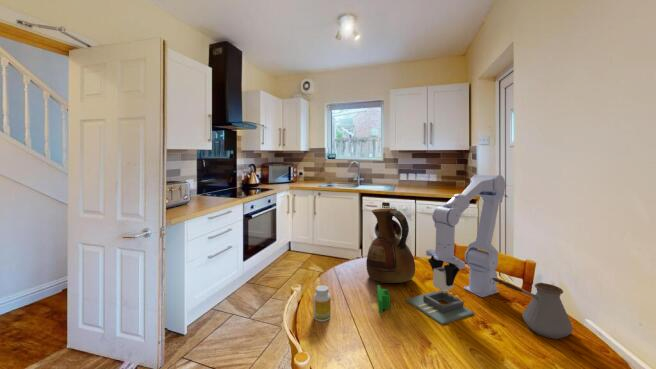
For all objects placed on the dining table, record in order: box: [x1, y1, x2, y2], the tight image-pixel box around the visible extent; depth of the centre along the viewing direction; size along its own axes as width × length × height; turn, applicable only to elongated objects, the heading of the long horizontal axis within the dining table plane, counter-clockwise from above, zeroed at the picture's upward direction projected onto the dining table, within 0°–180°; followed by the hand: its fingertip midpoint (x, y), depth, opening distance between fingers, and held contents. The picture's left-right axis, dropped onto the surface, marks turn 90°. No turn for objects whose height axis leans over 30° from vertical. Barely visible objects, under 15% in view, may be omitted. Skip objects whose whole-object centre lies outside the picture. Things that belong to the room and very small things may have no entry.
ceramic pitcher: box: [365, 207, 416, 284], centre depth 114 cm, size 20×20×30 cm
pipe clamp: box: [376, 284, 391, 314], centre depth 95 cm, size 11×4×5 cm, turn 173°
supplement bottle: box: [313, 284, 332, 322], centre depth 87 cm, size 5×5×10 cm
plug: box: [432, 266, 455, 291], centre depth 93 cm, size 4×4×6 cm
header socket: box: [405, 290, 475, 326], centre depth 93 cm, size 14×16×4 cm
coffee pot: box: [490, 278, 574, 340], centre depth 80 cm, size 21×12×15 cm, turn 82°
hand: (443, 282), depth 93 cm, fingers closed on plug, 4 cm apart
